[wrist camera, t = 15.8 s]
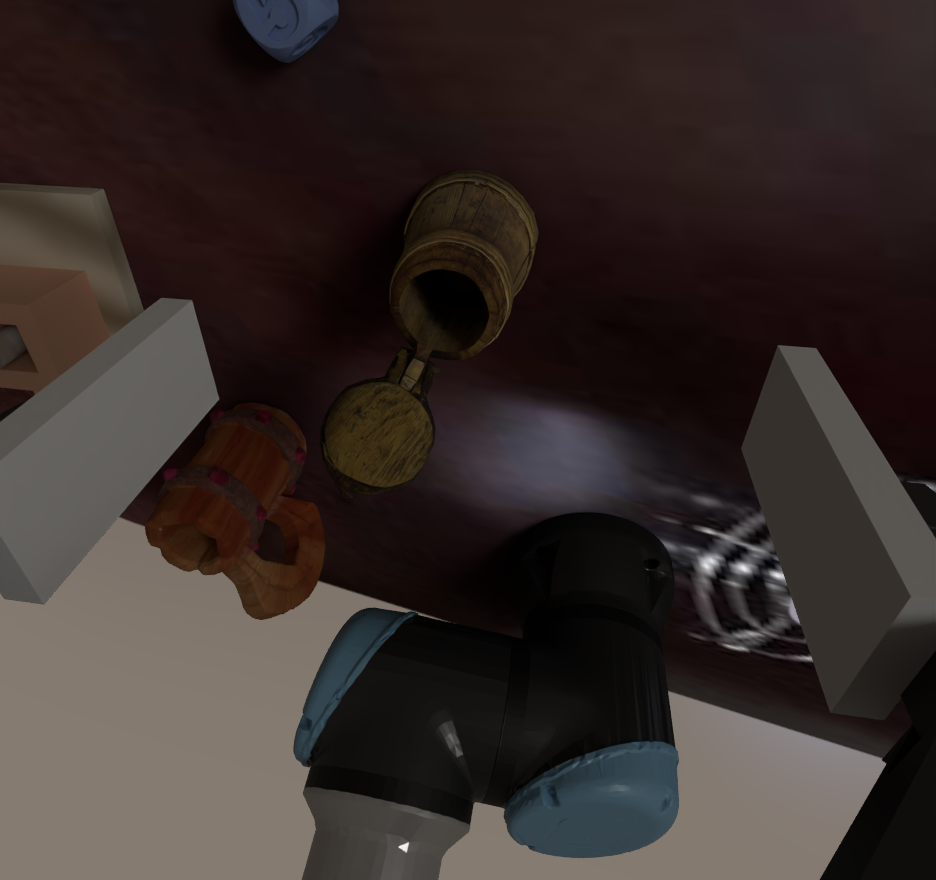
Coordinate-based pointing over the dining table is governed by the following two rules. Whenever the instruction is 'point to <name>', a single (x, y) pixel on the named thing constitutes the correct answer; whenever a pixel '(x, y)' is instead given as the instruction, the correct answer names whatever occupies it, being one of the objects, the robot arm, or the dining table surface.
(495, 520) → the dining table surface
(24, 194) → the peg stand
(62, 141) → the dining table surface
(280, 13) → the decorative dice
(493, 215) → the wooden mug
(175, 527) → the mug
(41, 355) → the bead
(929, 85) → the dining table surface
